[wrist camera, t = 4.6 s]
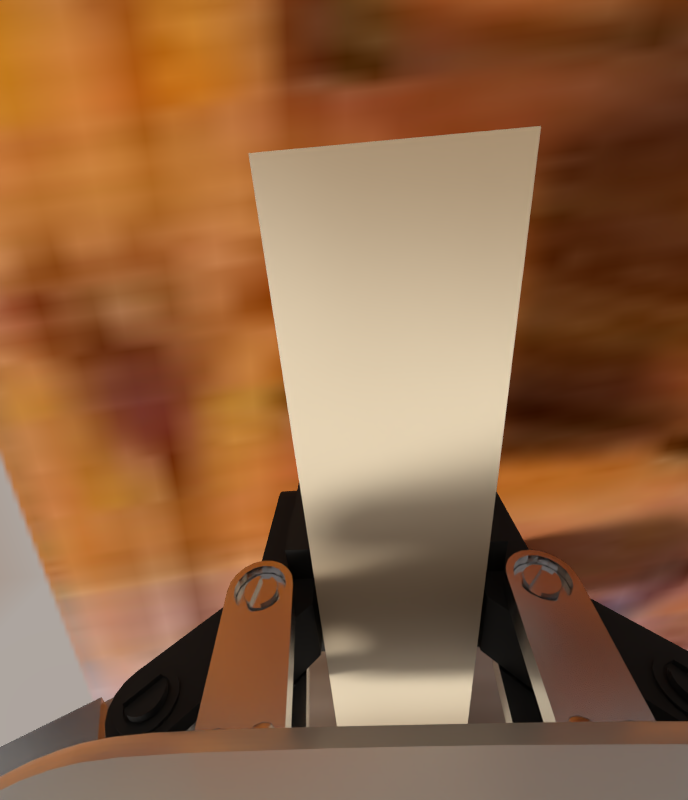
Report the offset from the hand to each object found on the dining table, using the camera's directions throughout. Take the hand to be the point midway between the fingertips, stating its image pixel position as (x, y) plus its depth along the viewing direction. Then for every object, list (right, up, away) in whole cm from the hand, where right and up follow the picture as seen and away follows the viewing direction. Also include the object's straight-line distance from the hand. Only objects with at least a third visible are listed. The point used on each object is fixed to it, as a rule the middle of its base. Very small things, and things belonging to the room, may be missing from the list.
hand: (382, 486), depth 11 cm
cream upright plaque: (0, 0, 0) cm, 1 cm away
